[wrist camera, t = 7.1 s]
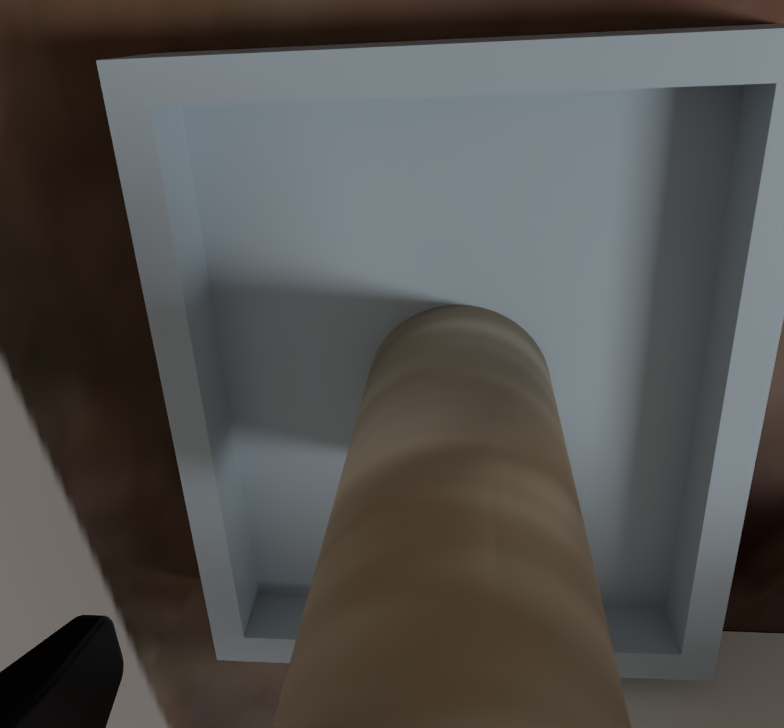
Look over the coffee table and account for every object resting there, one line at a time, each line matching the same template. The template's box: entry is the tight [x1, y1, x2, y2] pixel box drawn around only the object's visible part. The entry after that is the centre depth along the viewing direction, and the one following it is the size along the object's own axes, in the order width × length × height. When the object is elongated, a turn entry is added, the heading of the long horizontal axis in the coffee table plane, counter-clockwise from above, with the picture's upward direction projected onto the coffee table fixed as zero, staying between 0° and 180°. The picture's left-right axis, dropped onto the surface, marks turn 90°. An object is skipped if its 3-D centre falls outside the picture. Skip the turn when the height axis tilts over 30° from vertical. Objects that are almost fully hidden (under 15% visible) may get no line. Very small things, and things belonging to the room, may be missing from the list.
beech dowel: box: [272, 305, 631, 728], centre depth 11 cm, size 4×4×11 cm
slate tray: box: [96, 23, 784, 681], centre depth 16 cm, size 12×14×2 cm
